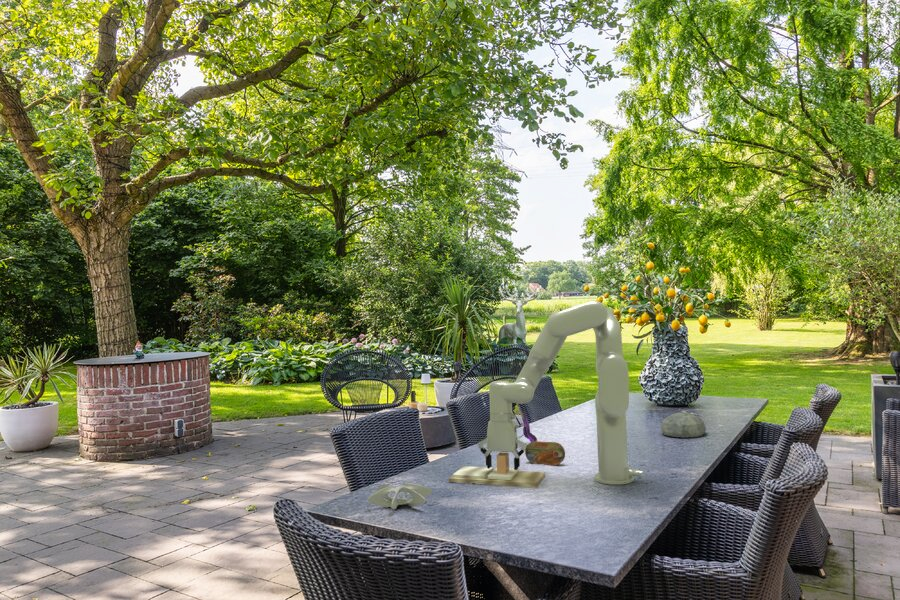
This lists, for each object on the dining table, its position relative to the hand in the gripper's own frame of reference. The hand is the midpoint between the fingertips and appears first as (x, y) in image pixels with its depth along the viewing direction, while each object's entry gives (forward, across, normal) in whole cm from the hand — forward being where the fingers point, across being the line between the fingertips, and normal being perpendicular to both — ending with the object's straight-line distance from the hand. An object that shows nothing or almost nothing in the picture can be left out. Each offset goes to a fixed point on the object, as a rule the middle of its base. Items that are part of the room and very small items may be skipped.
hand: (502, 468), depth 212 cm
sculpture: (+4, +23, +34) cm, 41 cm away
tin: (+4, -10, -25) cm, 27 cm away
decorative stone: (+4, -60, -89) cm, 107 cm away
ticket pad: (+4, +2, 0) cm, 4 cm away
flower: (+4, +6, -52) cm, 52 cm away
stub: (+2, 0, 0) cm, 2 cm away
